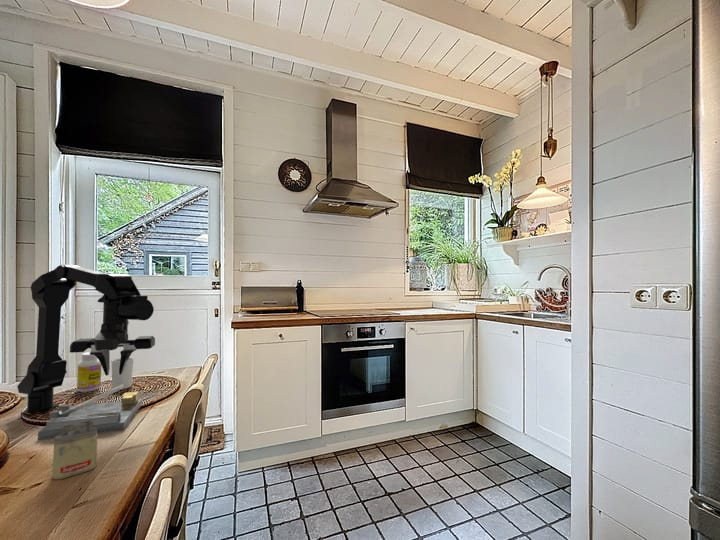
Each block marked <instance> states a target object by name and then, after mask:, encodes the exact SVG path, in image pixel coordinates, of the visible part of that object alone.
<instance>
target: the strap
mask: <svg viewBox="0 0 720 540" xmlns="http://www.w3.org/2000/svg"><path fill="white" fill-rule="evenodd" d="M123 387H124V384H121V385H119V386H117V387H115V388H111V389H109V390H106V391H105V392H103V393H100V394H98V395H96V396H94V397H92V398H90V399H88V400H85V401H83V402H81V403H79V404H77V406H75V407H73V408H71V409H68V410H66V411H64V412H61V418H62V417H64V416H66V415H68V414H70V413H73V412H75V411H77V410H79V409H81V408H83V407H85V406H87V405H89V404H95V403H96V402H98V401H99V400H101V399H104V398H107V397H108V396H110V395H112V394H114V393H116V392H119V391H120V390H123V389H122V388H123Z"/></svg>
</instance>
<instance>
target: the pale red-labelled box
mask: <svg viewBox="0 0 720 540" xmlns="http://www.w3.org/2000/svg"><path fill="white" fill-rule="evenodd" d="M83 423H86V424H83ZM70 426H71V427H70ZM92 426H93V422H92V419H89V420H87V421H85V422H81V423H77V424H72V425H65V426H62V430H63V431H62V432H63V433H62V434H59V435H57V436H56V437H55V438H53V439H54V440H53V441H54V443H53V455H52V456H53V457H52V458H53V459H52V461H53V463H52V476H51V478H52V479H53V480H63V479H65V478H69V477H72V476H76V475H79V474H83V473H85V472H89V471H91V470H93V469H95V468H96V467H97V466H98V465H97V464H98V463H97V458H98V457H97V455H98V433H97V428H96V427H92ZM84 427H87V428H84ZM81 428H83V429H81ZM71 430H73V431H71ZM68 431H70V432H68Z"/></svg>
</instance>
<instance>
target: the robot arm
mask: <svg viewBox="0 0 720 540" xmlns="http://www.w3.org/2000/svg"><path fill="white" fill-rule="evenodd" d="M77 283H80V284H84V285H88V286H90V287H94V289H95V291H96V292H98V293H100V294H102V296H101V297H100V298H99V299H97V303H103V306H102V307H103V308H102V311H103V312H102V323H101V325H100V330H99V332H98V333H97V334H96V336H95V337H93V338H92V337H91V338H90V337H89V338H79V339H76V340H74V341H73V342H71V343H70V345H69V353H70V354H71V353H85V352H86V350H88V349H90V351H89V352H90V355H95V356H96V357H97V358H98V359H99V361H100V363H101V369H102V370H103V372H104V374H105V376H106V377H107V376H109V375H110V366H111V365H110V363H111V361H110V351H115V350H117V349H118V348H123V349H122V350H120V352H119V353H120V358H121V360H120V367H119V375H121V374H122V373H123V370H124V368H125V366H126V363H127V361H128V359H129V357H131V355H132V354H133V353H134V352H135V351H137V350H149V349H152V348H153V347H155V346H156V338H155V337H154V335H145V336H140V335H139V336H138V337H136V338H135V339H129V333H128V332H129V331H128V327H129V320H131V321H146V320H149V319H150V318H152V316H153V314H154V309H155V308H154V305H153V303H152V301H150V300H149V299H148V295H147V294H146V295H145V294H144V295H142V294H141V293H140V291H139V289H138V287H137V286H136V284H135V282H134V280H133V278H132V276H131V275H129V274H125V273H124V274H123V273H121V274H120V273H116V274H115V273H106V272H105V273H104V272H101V271H96V270H94V269H93V270H92V269H89V268H85V267H82V266H79V265H76V264H75V265H74V264H61V265H58V266H57V267H55V268H54V269H52V270H50V271H48V272H46V273H43V274H41V275H40V276H38V277H37V278H36V279H35V280H34V281H32V283H31V285H30V291H31V299H32V300H33V302H34V304H36V306H37V307H38V318H37V333H36V352H35V357H34V358H33V359H32V361H31V362H30V363H29V364H28V366H27V370H26V374H25V376H24V377H23V378H22V380H21V381H20V382H19V384H17V391H18V393H19V394H24V395H27V399H26V400H27V401H26V403H27V404H26V409H25V410H23V411H22V412H21V413H20V415H21V416H23V415H22V414H24V415H27V414H26V413H34V414H38V413H37V412H45V413H48V412H47V411H49V412H51V411H52V410H53V409H55V408H56V407H57V406H58V405H59V403H56V402H55V403H54V388H56V387H61V386H63V384H64V379H65V377H66V374H67V363H68V362H67V360H66V359H63V358H62V357H61V356H60V354H59V352H60V351H59V349H60V333H61V317H62V315H61V314H62V313H61V312H62V307H63V306H64V304H65V303H66V302H67V301H68V299H69V296H70V291H71V290H72V289H73V288H75V287H76V286H77ZM55 406H56V407H55ZM54 407H55V408H54ZM51 409H52V410H51Z"/></svg>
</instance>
